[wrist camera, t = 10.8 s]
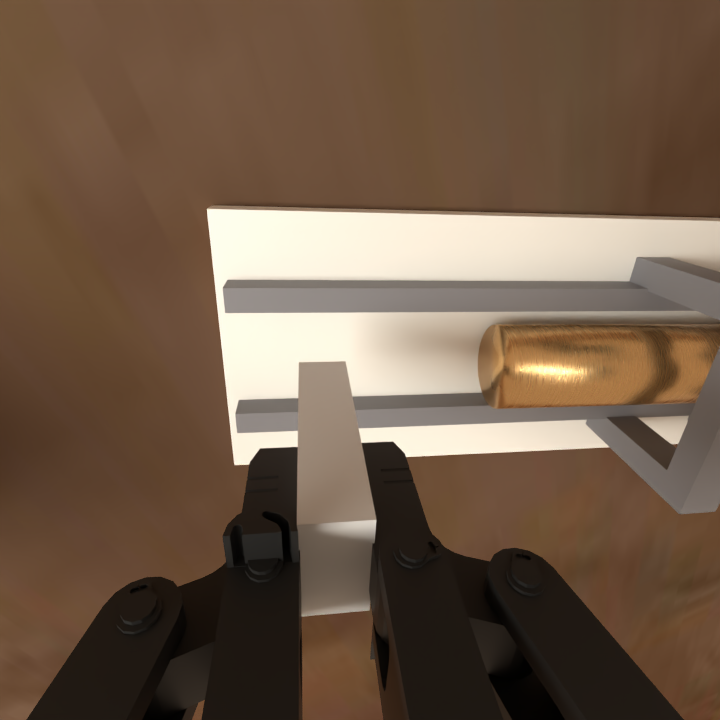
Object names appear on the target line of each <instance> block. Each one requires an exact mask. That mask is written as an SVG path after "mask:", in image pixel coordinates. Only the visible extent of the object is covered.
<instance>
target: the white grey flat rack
mask: <svg viewBox="0 0 720 720" xmlns="http://www.w3.org/2000/svg"><path fill="white" fill-rule="evenodd" d="M207 214H208V223H209V233H210V242H211V251H212V261H213V270H214V279H215V289H216V298H217V307H218V316H219V326H220V335H221V344H222V354H223V363H224V372H225V382H226V391H227V400H228V410H229V419H230V428H231V437H232V447H233V456H234V465H247V464H250V461H251V460H252V459H253V457H254V456H255V455H256V453H257V452H258V451H259V449H260V448H281V447H298V381H299V362H335V361H346V366H347V371H348V376H349V381H350V386H351V392H352V397H353V402H354V407H355V412H356V417H357V422H358V428H359V433H360V438H361V443H369V442H392V441H393V442H394V443H395V444H396V445H397V446H398V447H399V448H400V449H401V450H402V451H403V452H404V453H405V456H406V457H415V456H436V455H457V454H478V453H499V452H519V451H540V450H561V449H582V448H603V447H610V448H611V449H612V450H613V451H614V452H615V453H616V454H617V455H618V456H619V457H620V458H621V459H622V460H624V461H625V462H626V463H627V464H628V465H629V466H630V467H631V468H632V469H633V470H634V471H635V472H636V473H637V474H638V475H639V476H640V477H641V478H642V479H643V480H644V481H645V482H646V483H648V484H649V485H650V486H651V487H652V488H653V489H654V490H655V491H656V492H657V493H658V494H659V495H660V496H661V497H662V498H663V499H664V500H665V501H666V502H667V503H668V504H669V505H670V506H671V507H673V508H674V509H675V510H676V511H677V512H678V513H679V514H689V513H703V512H715V511H716V509H717V507H718V505H719V503H720V347H719V349H718V352H717V354H716V356H715V359H714V361H713V363H712V366H711V368H710V370H709V373H708V375H707V377H706V380H705V382H704V385H703V387H702V389H701V392H700V394H699V396H698V399H697V401H696V403H686V404H650V405H615V406H580V407H544V408H509V409H495V408H492V407H491V406H490V405H489V404H488V403H487V402H486V400H485V398H484V396H483V394H482V391H481V387H480V383H479V377H478V353H479V347H480V343H481V340H482V337H483V335H484V333H485V331H486V330H487V329H488V328H489V327H490V326H492V325H584V324H720V218H702V217H662V216H621V215H581V214H541V213H501V212H461V211H421V210H380V209H340V208H300V207H260V206H220V205H212V206H211V207H209V208H208V209H207ZM672 444H678V446H677V448H675V447H674V446H673V445H672Z"/></svg>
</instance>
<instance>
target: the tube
mask: <svg viewBox="0 0 720 720" xmlns="http://www.w3.org/2000/svg"><path fill="white" fill-rule="evenodd" d="M719 347H720V324H584V325H492V326H490V327H489V328H488V329H487V330H486V331H485V333H484V335H483V337H482V340H481V343H480V347H479V353H478V377H479V383H480V387H481V391H482V394H483V396H484V398H485V400H486V402H487V403H488V404H489V405H490V406H491V407H492V408H495V409H509V408H544V407H580V406H615V405H650V404H686V403H696V401H697V399H698V396H699V394H700V392H701V389H702V387H703V385H704V382H705V380H706V377H707V375H708V373H709V370H710V368H711V366H712V363H713V361H714V359H715V356H716V354H717V352H718V349H719Z"/></svg>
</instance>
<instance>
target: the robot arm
mask: <svg viewBox="0 0 720 720" xmlns="http://www.w3.org/2000/svg"><path fill="white" fill-rule="evenodd" d="M223 543H224V550H225V556H226V563H225V564H224V565H223V566H222V567H220V568H219V569H217V570H216V571H215V572H213V573H212V574H209V575H207V576H205V577H203V578H201V579H198V580H195V581H193V582H190V583H187V584H184V585H182V586H179V587H177V586H176V584H175V583H174V582H173V581H171V580H168V579H165V578H162V577H146V578H143V579H140V580H137V581H135V582H132V583H129V584H128V585H126V586H125V587H123V588H122V589H120V590H119V591H117V592H116V593H115V594H114V595H113V596H112V597H111V598H110V599H109V600H108V602H107V603H106V604H105V605H104V606H103V607H102V609H101V610H100V612H99V613H98V615H97V616H96V618H95V619H94V621H93V622H92V624H91V625H90V627H89V628H88V629H87V631H86V632H85V634H84V635H83V637H82V638H81V640H80V641H79V643H78V644H77V646H76V647H75V649H74V650H73V652H72V653H71V655H70V656H69V658H68V659H67V661H66V662H65V664H64V665H63V666H62V668H61V669H60V671H59V672H58V674H57V675H56V677H55V678H54V680H53V681H52V683H51V684H50V686H49V687H48V689H47V690H46V692H45V693H44V695H43V696H42V698H41V699H40V701H39V702H38V704H37V705H36V706H35V708H34V709H33V711H32V712H31V714H30V715H29V717H28V718H27V720H192V718H193V715H194V712H195V710H196V707H197V705H198V702H201V701H203V700H205V702H204V708H203V714H202V720H302V630H301V616H312V615H323V614H334V613H345V612H356V611H367V610H369V608H370V601H371V608H372V615H373V630H372V642H371V656H370V659H375V662H376V669H377V676H378V683H379V691H380V698H381V705H382V713H383V720H684V719H683V718H682V717H681V716H680V715H679V714H678V712H677V711H676V710H675V709H674V708H673V707H672V705H671V704H670V703H669V702H668V701H667V700H666V698H665V697H664V696H663V695H662V694H661V693H660V691H659V690H658V689H657V688H656V687H655V686H654V684H653V683H652V682H651V681H650V680H649V679H648V677H647V676H646V675H645V674H644V673H643V672H642V670H641V669H640V668H639V667H638V666H637V665H636V663H635V662H634V661H633V660H632V659H631V658H630V656H629V655H628V654H627V653H626V652H625V651H624V650H623V648H622V647H621V646H620V645H619V644H618V643H617V641H616V640H615V639H614V638H613V637H612V636H611V634H610V633H609V632H608V631H607V630H606V629H605V627H604V626H603V625H602V624H601V623H600V622H599V620H598V619H597V618H596V617H595V616H594V615H593V613H592V612H591V611H590V610H589V609H588V608H587V606H586V605H585V604H584V603H583V602H582V601H581V599H580V598H579V597H578V596H577V595H576V594H575V592H574V591H573V590H572V589H571V588H570V587H569V585H568V584H567V583H566V582H565V581H564V580H563V578H562V577H561V576H560V575H559V574H558V573H557V571H556V570H555V569H554V568H553V567H552V566H551V565H550V564H549V563H547V562H546V561H545V560H544V559H543V558H542V557H540V556H538V555H536V554H534V553H532V552H530V551H527V550H523V549H518V548H510V549H503V550H501V551H499V552H498V553H496V554H494V556H493V557H492V559H491V561H490V562H489V561H484V560H480V559H475V558H471V557H466V556H463V555H460V554H457V553H454V552H452V551H450V550H449V549H447V548H445V547H444V546H443V545H442V544H441V542H440V541H439V540H438V539H437V538H436V537H435V536H433V535H432V533H431V531H430V529H429V527H428V524H427V521H426V518H425V515H424V512H423V508H422V505H421V502H420V499H419V496H418V493H417V490H416V487H415V484H414V483H413V478H412V474H411V471H410V470H409V465H408V462H407V459H406V456H405V453H404V452H403V451H402V450H401V449H400V448H399V447H398V446H397V445H396V444H395V443H394V442H393V441H392V442H369V443H361V438H360V433H359V428H358V422H357V417H356V412H355V407H354V402H353V397H352V392H351V386H350V381H349V376H348V371H347V366H346V361H335V362H299V381H298V447H281V448H260V449H259V451H258V452H257V453H256V455H255V456H254V457H253V459H252V460H251V461H250V465H249V471H248V480H247V484H246V493H245V496H244V503H243V509H242V513H240V514H239V515H237V516H236V517H235V518H234V519H233V520H232V521H231V522H230V523H229V524H228V525H227V527H226V530H225V532H224V534H223Z"/></svg>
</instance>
